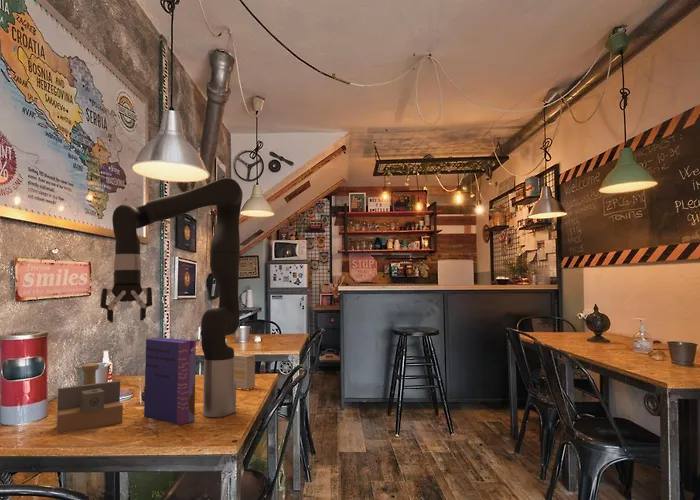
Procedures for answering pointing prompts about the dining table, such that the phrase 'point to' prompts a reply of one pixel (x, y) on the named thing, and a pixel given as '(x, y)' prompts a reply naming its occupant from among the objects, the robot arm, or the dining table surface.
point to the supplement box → (244, 371)
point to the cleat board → (76, 419)
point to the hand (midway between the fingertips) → (126, 321)
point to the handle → (89, 373)
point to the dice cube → (92, 400)
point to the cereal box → (170, 380)
